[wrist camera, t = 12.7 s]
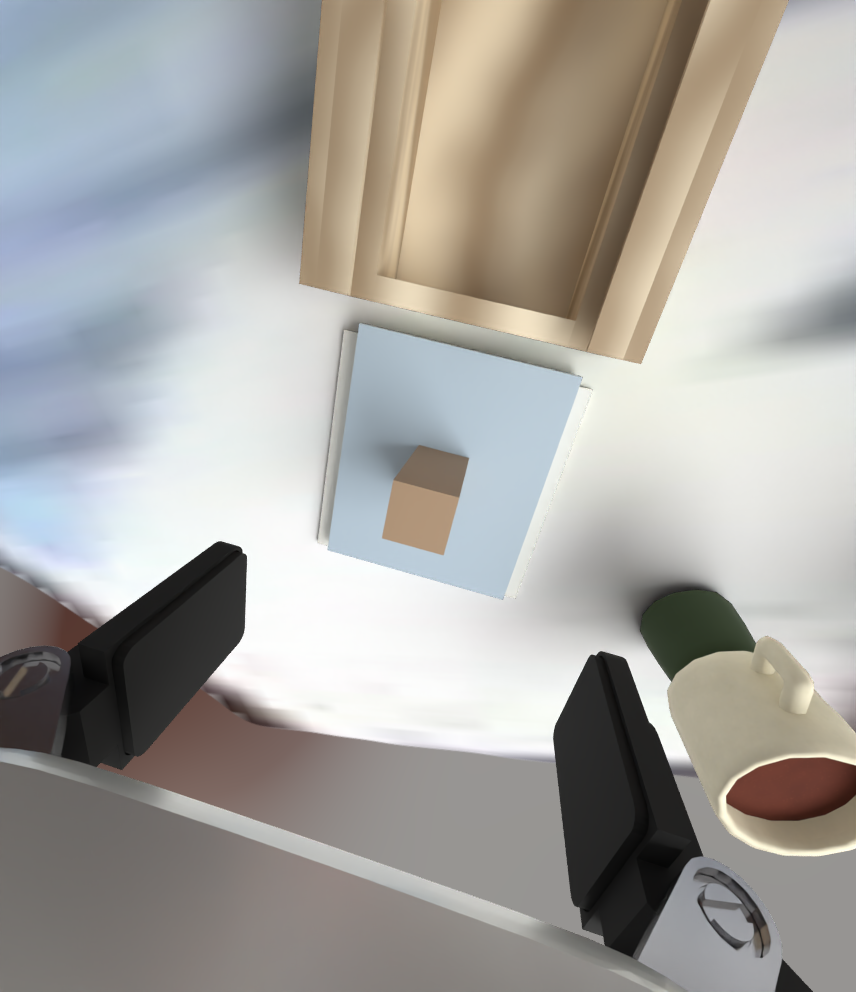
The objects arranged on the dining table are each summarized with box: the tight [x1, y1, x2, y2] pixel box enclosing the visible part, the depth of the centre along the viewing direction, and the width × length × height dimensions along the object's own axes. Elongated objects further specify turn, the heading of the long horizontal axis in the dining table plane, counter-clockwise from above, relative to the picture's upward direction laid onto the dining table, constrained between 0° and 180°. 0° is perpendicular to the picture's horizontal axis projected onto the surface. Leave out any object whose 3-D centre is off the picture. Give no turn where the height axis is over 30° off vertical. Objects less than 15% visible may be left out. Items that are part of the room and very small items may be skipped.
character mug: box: [640, 590, 856, 856], centre depth 24 cm, size 11×7×13 cm, turn 4°
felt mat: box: [318, 330, 593, 599], centre depth 29 cm, size 16×16×1 cm
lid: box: [328, 323, 583, 600], centre depth 25 cm, size 14×16×8 cm
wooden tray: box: [299, 0, 789, 364], centre depth 18 cm, size 16×18×7 cm
